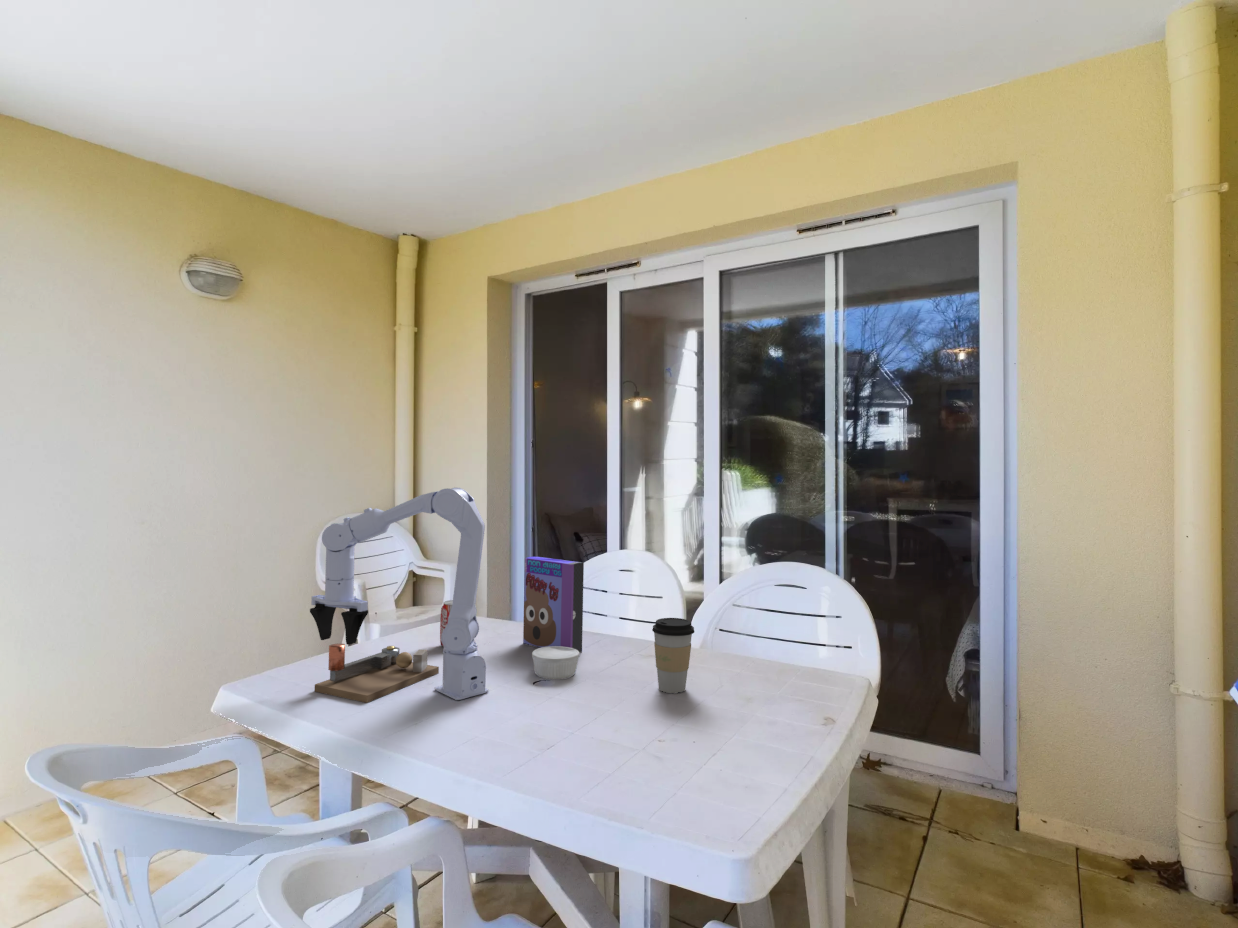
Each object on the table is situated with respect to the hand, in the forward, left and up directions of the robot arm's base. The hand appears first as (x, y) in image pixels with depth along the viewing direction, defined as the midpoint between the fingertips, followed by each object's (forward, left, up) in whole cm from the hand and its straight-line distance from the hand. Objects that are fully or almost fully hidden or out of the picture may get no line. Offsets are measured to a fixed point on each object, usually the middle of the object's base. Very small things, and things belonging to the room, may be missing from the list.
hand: (338, 641), depth 140 cm
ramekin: (-23, -42, -11) cm, 49 cm away
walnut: (-1, -15, -9) cm, 17 cm away
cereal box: (-5, -56, -11) cm, 57 cm away
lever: (+3, -8, -9) cm, 12 cm away
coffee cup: (-49, -54, -11) cm, 74 cm away
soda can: (+14, -37, -11) cm, 41 cm away
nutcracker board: (-1, -9, -10) cm, 14 cm away
